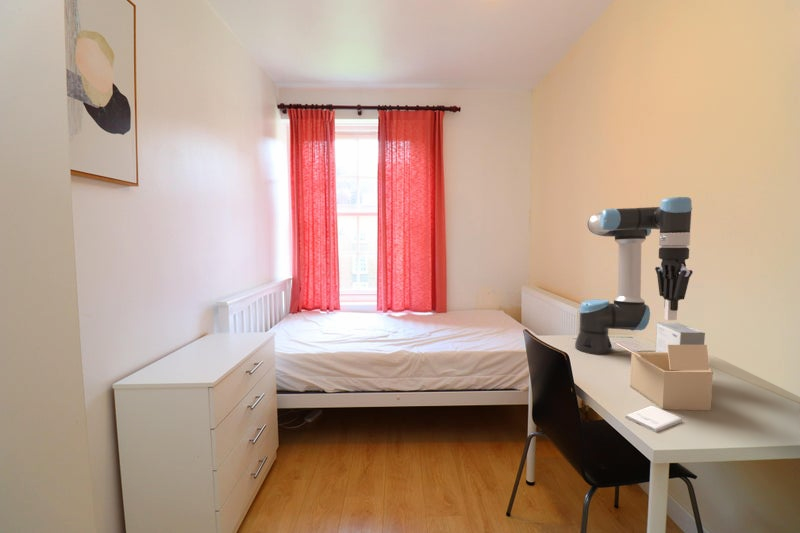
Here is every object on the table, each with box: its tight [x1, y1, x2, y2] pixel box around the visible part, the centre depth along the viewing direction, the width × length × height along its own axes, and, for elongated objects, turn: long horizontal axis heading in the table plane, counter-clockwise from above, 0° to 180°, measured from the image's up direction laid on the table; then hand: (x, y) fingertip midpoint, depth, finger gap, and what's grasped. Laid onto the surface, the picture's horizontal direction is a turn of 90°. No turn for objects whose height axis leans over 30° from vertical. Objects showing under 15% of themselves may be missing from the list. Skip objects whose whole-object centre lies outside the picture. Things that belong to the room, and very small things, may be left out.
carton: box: [629, 351, 714, 411], centre depth 110 cm, size 16×15×12 cm
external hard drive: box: [624, 405, 683, 433], centre depth 97 cm, size 2×8×12 cm
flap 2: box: [667, 344, 711, 370], centre depth 101 cm, size 7×11×1 cm
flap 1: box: [615, 342, 659, 368], centre depth 110 cm, size 13×7×1 cm
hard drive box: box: [655, 321, 706, 352], centre depth 123 cm, size 16×8×20 cm, turn 168°
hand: (670, 319), depth 108 cm, fingers closed
